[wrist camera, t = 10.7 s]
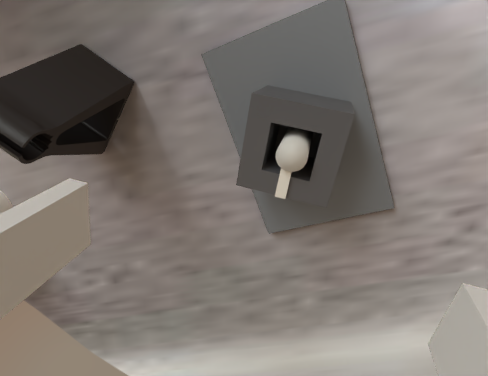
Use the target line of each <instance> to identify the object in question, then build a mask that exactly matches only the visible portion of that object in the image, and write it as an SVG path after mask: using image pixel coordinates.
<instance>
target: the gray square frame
mask: <svg viewBox="0 0 488 376" xmlns="http://www.w3.org/2000/svg"><path fill="white" fill-rule="evenodd" d="M354 116H355V113H354V110H353V107H352V104H351V102H349V101H344V100H339V99H334V98H329V97H324V96H319V95H314V94H309V93H304V92H299V91H294V90H289V89H284V88H279V87H274V86H269V85H267V86H265V87H263V88H261V89H259V90H257V91H255V92H252V94H251V100H250V106H249V112H248V118H247V124H246V130H245V136H244V142H243V148H242V154H241V160H240V166H239V172H238V178H237V184H236V185H238V186H242V187H246V188H250V189H254V190H258V191H262V192H266V193H270V194H273V195H275V197H278V198H282V199H285V198H289V199H293V200H297V201H301V202H305V203H309V204H313V205H316V206H320V207H324V208H327V205H328V202H329V199H330V195H331V192H332V189H333V185H334V182H335V179H336V175H337V172H338V169H339V165H340V162H341V159H342V155H343V152H344V149H345V145H346V142H347V139H348V136H349V132H350V129H351V126H352V122H353V119H354ZM280 125H285V126H289V127H294V128H299V129H303V130H308V131H312V132H317V133H321V134H320V138H319V142H318V146H317V149H316V153H315V157H314V158H312V157H308V159H307V163H306V165H305V166H304V167H303V168H302V169H300V170H298V171H295V172H289V171H285V170H283V169H282V168H281V167H280V166H279V165H278V164H277V161H276V151H277V149H275V145H276V141H277V136H278V131H279V126H280Z"/></svg>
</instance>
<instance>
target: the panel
mask: <svg viewBox="0 0 488 376" xmlns="http://www.w3.org/2000/svg"><path fill="white" fill-rule="evenodd" d="M201 55H202V57H203V60H204V63H205V65H206V68H207V71H208V73H209V76H210V79H211V81H212V84H213V87H214V89H215V92H216V95H217V97H218V100H219V103H220V105H221V108H222V111H223V113H224V116H225V119H226V121H227V124H228V127H229V129H230V132H231V135H232V137H233V140H234V143H235V145H236V148H237V151H238V153H239V156H240V159H241V154H242V148H243V142H244V136H245V130H246V124H247V118H248V112H249V106H250V100H251V94H252V92H255V91H257V90H259V89H261V88H263V87H265V86H267V85H269V86H274V87H279V88H284V89H289V90H294V91H299V92H304V93H309V94H314V95H319V96H324V97H329V98H334V99H339V100H344V101H349V102H351V104H352V107H353V110H354V113H355V116H354V119H353V122H352V126H351V129H350V132H349V136H348V139H347V142H346V145H345V149H344V152H343V155H342V159H341V162H340V165H339V169H338V172H337V175H336V179H335V182H334V185H333V189H332V192H331V195H330V199H329V202H328V205H327V208H324V207H320V206H316V205H313V204H309V203H305V202H301V201H297V200H293V199H289V198H285V199H282V198H278V197H275V195H273V194H270V193H266V192H262V191H258V190H254V189H252V191H253V193H254V196H255V199H256V201H257V204H258V207H259V209H260V212H261V215H262V217H263V220H264V223H265V225H266V228H267V231H268V233H269V234H270V233H274V232H279V231H284V230H289V229H294V228H299V227H304V226H309V225H314V224H319V223H324V222H328V221H333V220H338V219H343V218H348V217H353V216H358V215H363V214H368V213H373V212H378V211H382V210H387V209H392V208H394V204H393V200H392V196H391V192H390V188H389V184H388V179H387V175H386V171H385V167H384V163H383V158H382V154H381V150H380V146H379V142H378V137H377V133H376V129H375V125H374V121H373V117H372V112H371V108H370V104H369V100H368V96H367V91H366V87H365V83H364V79H363V75H362V71H361V66H360V62H359V58H358V54H357V50H356V45H355V41H354V37H353V33H352V29H351V24H350V20H349V16H348V12H347V8H346V4H345V0H327V1H325V2H322V3H320V4H318V5H315V6H313V7H311V8H308V9H306V10H304V11H301V12H299V13H297V14H294V15H292V16H290V17H287V18H285V19H283V20H280V21H278V22H276V23H273V24H271V25H269V26H266V27H264V28H262V29H260V30H257V31H255V32H253V33H250V34H248V35H246V36H243V37H241V38H239V39H236V40H234V41H232V42H229V43H227V44H225V45H222V46H220V47H218V48H215V49H213V50H211V51H208V52H206V53H204V54H201ZM320 134H321V133H317V132H312V131H308V130H303V129H299V128H294V127H289V126H285V125H280V126H279V131H278V136H277V141H276V145H275V149H277V151H276V161H277V164H278V165H279V166H280V167H281V168H282V169H283V170H285V171H289V172H295V171H298V170H300V169H302V168H303V167H304V166H305V165H306V163H307V159H308V157H312V158H314V157H315V153H316V149H317V146H318V142H319V138H320Z"/></svg>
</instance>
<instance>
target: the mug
mask: <svg viewBox="0 0 488 376" xmlns="http://www.w3.org/2000/svg"><path fill="white" fill-rule="evenodd" d="M11 208H13V205H12V204H11V202H10V200H9V199H8V198H7V197H6V195H5V194H4V193H3V192H2V191H0V214H1V213H3V212H5V211H7V210H9V209H11Z"/></svg>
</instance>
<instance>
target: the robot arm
mask: <svg viewBox="0 0 488 376" xmlns="http://www.w3.org/2000/svg"><path fill="white" fill-rule="evenodd" d="M90 244H91V239H90V218H89V196H88V183H86V182H82V181H78V180H74V179H71V178H69V179H67V180H65V181H63V182H61V183H59V184H57V185H55V186H53V187H52V188H50V189H48V190H46V191H44V192H42V193H40V194H38V195H36V196H34V197H32V198H30V199H28V200H26V201H24V202H22V203H20V204H18V205H17V206H15V207H13V208H11V209H9V210H7V211H5V212H3V213H1V214H0V320H1V319H2V318H3V317H4V316H5V315H6V314H8V313H9V312H10V311H11V310H13V309H14V308H15V307H16V306H17V305H19V304H20V303H21V302H22V301H23V300H25V299H26V298H27V297H28V296H29V295H31V294H32V293H33V292H34V291H35V290H37V289H38V288H39V287H40V286H41V285H43V284H44V283H45V282H46V281H47V280H49V279H50V278H51V277H52V276H53V275H54V274H56V273H57V272H58V271H59V270H60V269H62V268H63V267H64V266H65V265H66V264H68V263H69V262H70V261H71V260H72V259H74V258H75V257H76V256H77V255H78V254H80V253H81V252H82V251H83V250H84V249H86V248H87V247H88V246H89V245H90ZM428 346H429V349H430V352H431V355H432V358H433V361H434V364H435V367H436V370H437V373H438V376H488V290H487V289H484V288H480V287H476V286H472V285H469V284H465V283H462V285H461V287H460V289H459V290H458V292H457V294H456V296H455V297H454V299H453V301H452V303H451V304H450V306H449V308H448V310H447V311H446V313H445V315H444V317H443V318H442V320H441V322H440V324H439V325H438V327H437V329H436V331H435V332H434V334H433V336H432V338H431V339H430V341H429V343H428Z"/></svg>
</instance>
